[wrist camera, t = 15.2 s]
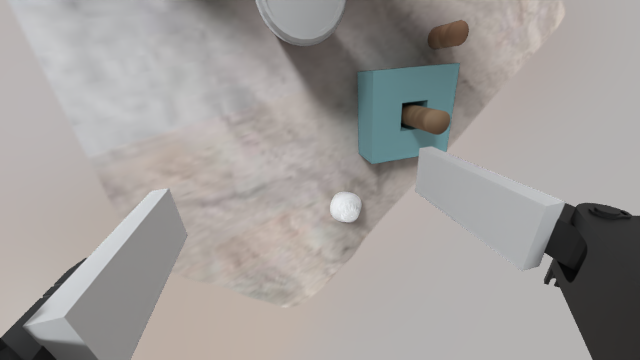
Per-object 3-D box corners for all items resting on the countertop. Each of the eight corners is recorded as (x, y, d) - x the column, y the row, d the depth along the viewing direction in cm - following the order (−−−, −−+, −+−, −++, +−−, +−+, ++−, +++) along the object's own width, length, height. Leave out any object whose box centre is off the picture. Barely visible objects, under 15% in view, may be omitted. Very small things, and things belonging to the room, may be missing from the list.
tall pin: (387, 102, 42) (430, 112, 31) (403, 100, 42) (452, 109, 31) (386, 121, 43) (428, 136, 32) (402, 118, 44) (448, 132, 33)
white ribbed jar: (358, 203, 49) (372, 222, 43) (332, 216, 49) (342, 237, 42) (349, 179, 46) (363, 195, 40) (321, 193, 46) (330, 211, 40)
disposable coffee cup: (311, 64, 36) (331, 59, 26) (248, 38, 33) (242, 20, 23) (331, -6, 33) (365, -45, 23) (265, -42, 30) (267, -106, 20)
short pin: (429, 27, 38) (451, 20, 34) (446, 26, 39) (470, 19, 34) (426, 49, 40) (447, 46, 35) (443, 48, 40) (466, 44, 36)
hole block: (357, 71, 38) (373, 71, 33) (433, 64, 41) (459, 63, 35) (358, 153, 44) (372, 164, 39) (425, 142, 47) (446, 151, 41)
